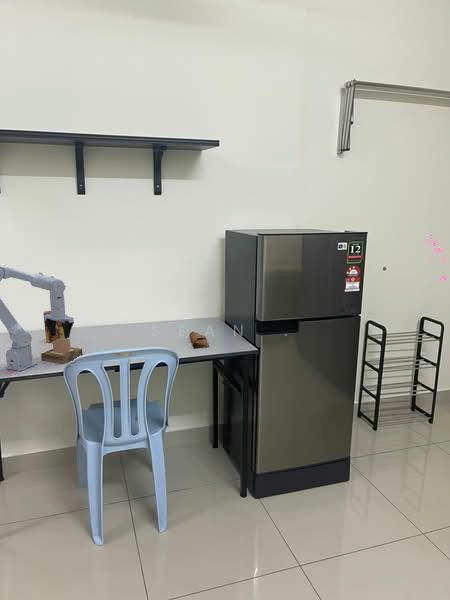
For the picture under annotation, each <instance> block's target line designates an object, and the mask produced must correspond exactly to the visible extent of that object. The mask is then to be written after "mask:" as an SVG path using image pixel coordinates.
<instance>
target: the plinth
mask: <svg viewBox="0 0 450 600" xmlns="http://www.w3.org/2000/svg"><path fill="white" fill-rule="evenodd" d="M70 348H71V350H70V351H67V352H65V353H63V354H62V353H56V352H53V348H51V349H49V350H47V351H44V352H42V353H40V355H41V361H43V362H44V361H45V362H49V363H56V364H62V365H64V364H67V363H69V362H71V361H73V360H75V359H74V358H76V357H78V356H80V355H82V356H83V355H84V354H83V348H79V347H78V348H77V347H71V346H70ZM80 357H81V356H80ZM78 358H79V357H78ZM72 359H73V360H72ZM76 359H77V358H76Z"/></svg>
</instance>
